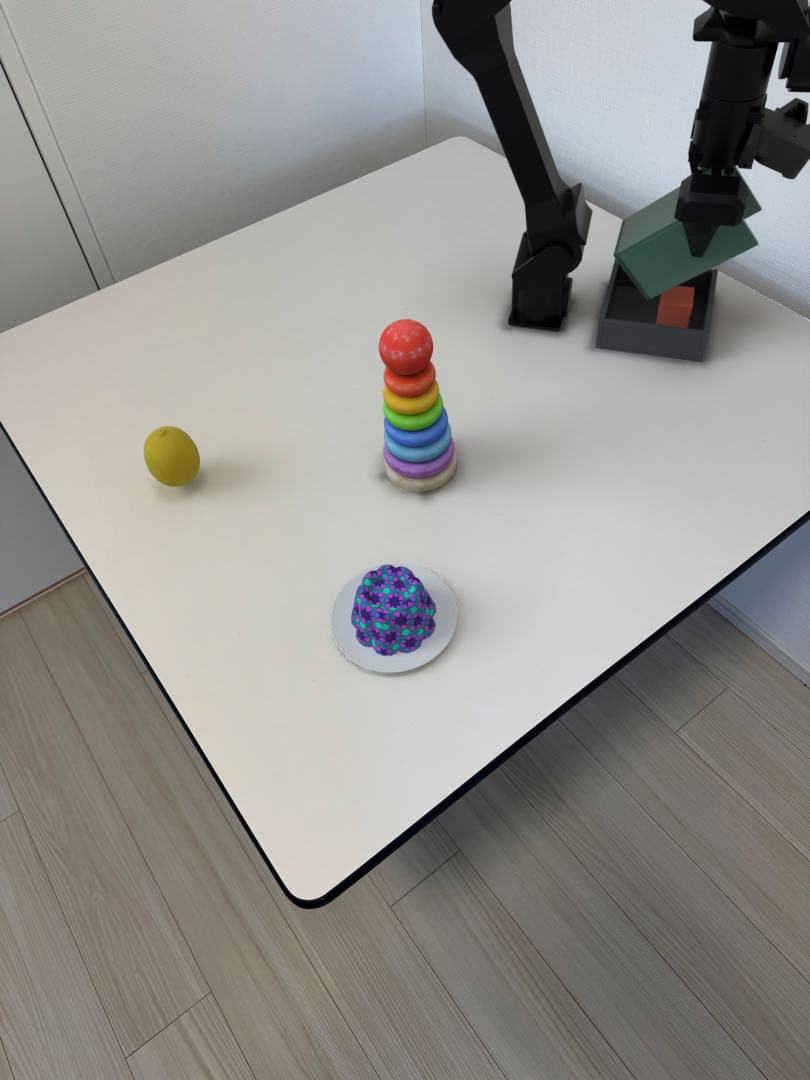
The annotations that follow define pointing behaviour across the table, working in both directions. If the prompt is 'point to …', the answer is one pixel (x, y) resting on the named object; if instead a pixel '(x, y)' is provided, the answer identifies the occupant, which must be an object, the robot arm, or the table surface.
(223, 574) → the table surface
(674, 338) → the bin
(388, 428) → the stacking toy
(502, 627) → the table surface
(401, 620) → the pudding
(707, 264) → the pour tub
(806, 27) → the robot arm
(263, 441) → the table surface
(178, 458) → the lemon
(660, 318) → the toy cube
